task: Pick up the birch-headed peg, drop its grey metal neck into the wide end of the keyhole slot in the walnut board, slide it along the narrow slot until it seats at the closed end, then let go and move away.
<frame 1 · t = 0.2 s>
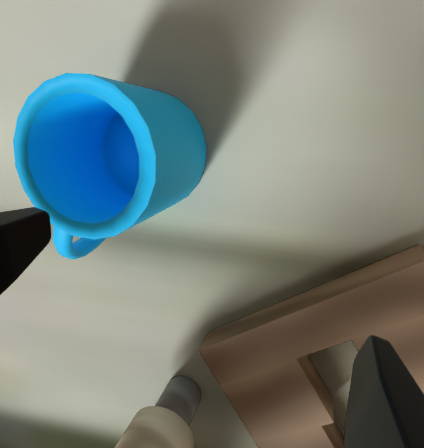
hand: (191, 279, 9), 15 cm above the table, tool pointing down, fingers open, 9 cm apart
keyhole board: (355, 387, 25), on the table
mug: (142, 173, 26), on the table
peg: (184, 391, 30), on the table
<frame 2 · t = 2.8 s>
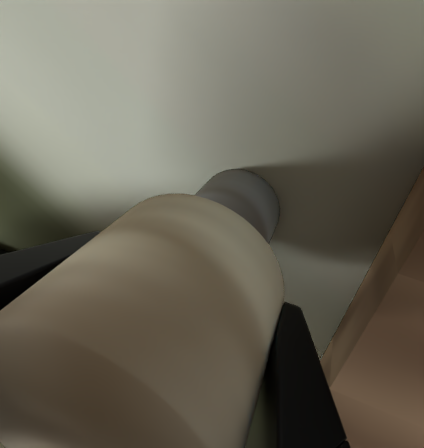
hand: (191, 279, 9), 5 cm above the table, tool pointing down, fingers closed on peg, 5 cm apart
peg: (238, 208, 13), on the table, touching gripper
when the fingers open (5 cm above the table, at t = 9.1 s): peg stays where it is, resting in keyhole board.
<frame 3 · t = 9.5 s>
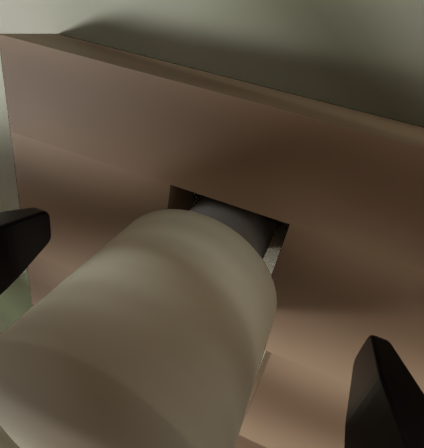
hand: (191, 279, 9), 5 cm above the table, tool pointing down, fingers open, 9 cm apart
keyhole board: (221, 280, 15), on the table
peg: (238, 215, 13), resting in keyhole board
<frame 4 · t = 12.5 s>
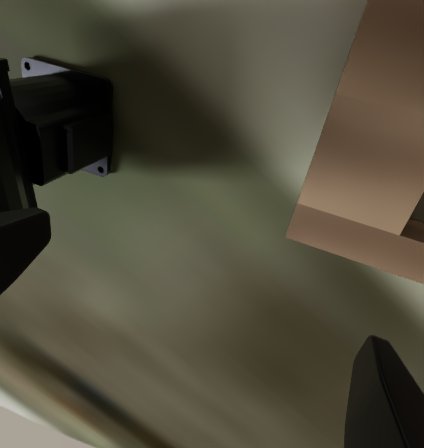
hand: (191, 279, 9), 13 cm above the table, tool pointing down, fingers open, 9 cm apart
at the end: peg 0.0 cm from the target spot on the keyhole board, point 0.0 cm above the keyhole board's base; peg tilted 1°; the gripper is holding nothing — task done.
